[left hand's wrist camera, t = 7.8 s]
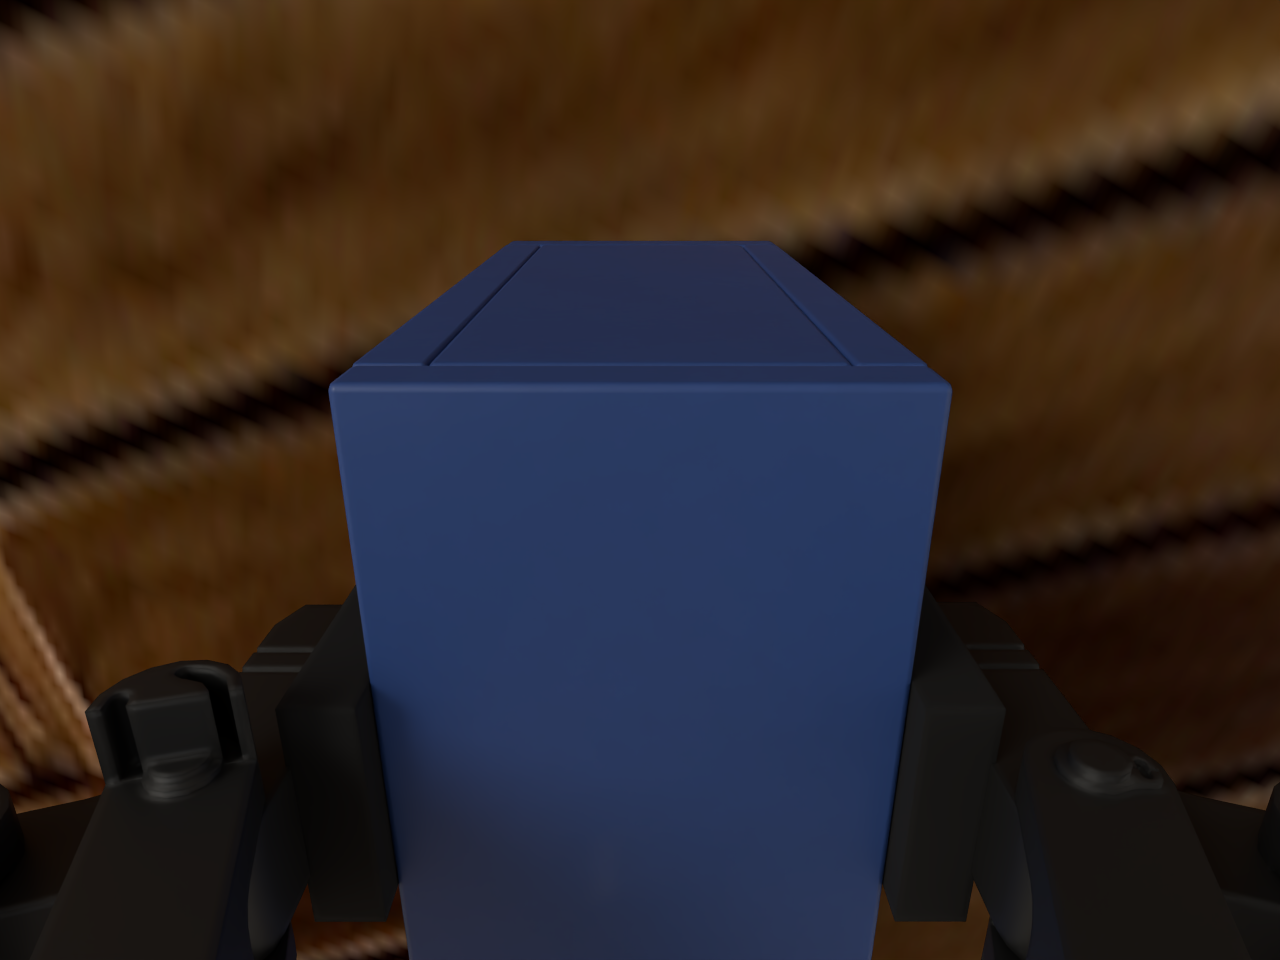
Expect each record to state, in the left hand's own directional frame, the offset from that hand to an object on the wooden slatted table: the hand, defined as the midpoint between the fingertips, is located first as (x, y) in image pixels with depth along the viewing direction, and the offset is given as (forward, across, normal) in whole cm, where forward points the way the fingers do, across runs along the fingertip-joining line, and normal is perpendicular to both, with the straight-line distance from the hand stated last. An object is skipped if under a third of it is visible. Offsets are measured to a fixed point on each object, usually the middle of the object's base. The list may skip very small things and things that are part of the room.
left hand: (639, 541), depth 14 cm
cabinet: (+5, 0, -5) cm, 7 cm away
